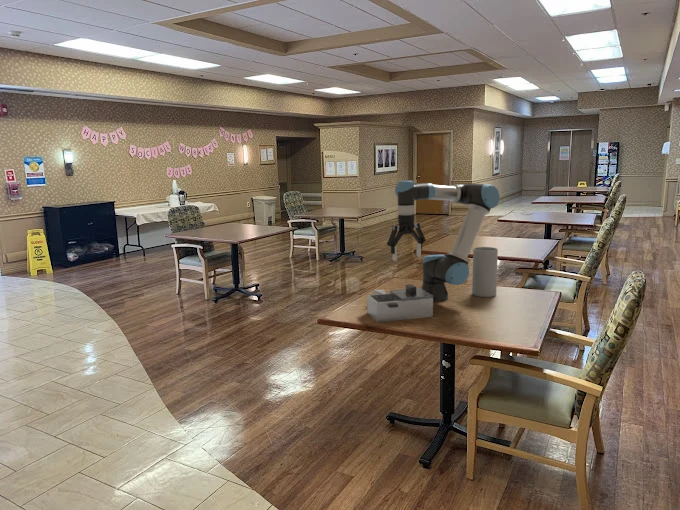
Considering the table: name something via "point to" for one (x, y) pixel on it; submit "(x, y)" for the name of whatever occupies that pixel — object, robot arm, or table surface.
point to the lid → (411, 293)
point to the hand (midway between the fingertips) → (406, 258)
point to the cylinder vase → (484, 271)
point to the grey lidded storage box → (397, 308)
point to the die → (378, 292)
